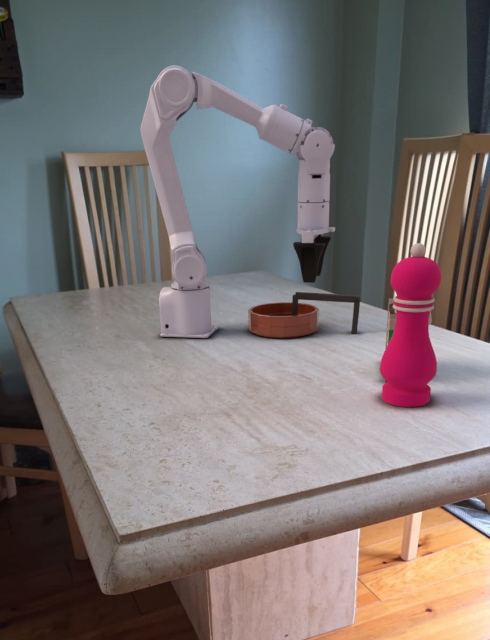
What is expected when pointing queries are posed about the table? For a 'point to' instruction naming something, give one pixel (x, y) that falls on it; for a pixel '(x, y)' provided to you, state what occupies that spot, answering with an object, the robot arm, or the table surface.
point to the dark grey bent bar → (329, 297)
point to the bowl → (283, 320)
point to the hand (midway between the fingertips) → (312, 278)
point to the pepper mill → (411, 332)
